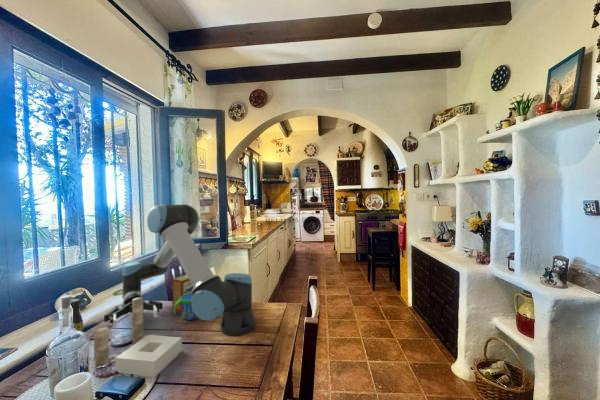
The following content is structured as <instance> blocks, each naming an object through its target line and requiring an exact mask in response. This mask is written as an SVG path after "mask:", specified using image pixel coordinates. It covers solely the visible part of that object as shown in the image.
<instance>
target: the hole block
mask: <svg viewBox="0 0 600 400" xmlns="http://www.w3.org/2000/svg"><path fill="white" fill-rule="evenodd" d="M182 341H183V339H182V337H178V336H166V335H155V334H154V335H153V334H147V335H146V336H143V339H141V340H140V341H138V342H137V343H136V344H134V345H131V346H130V347H129V348H128V349H126V350H124V351H122V353H120V354H118V355H117V356H115V358H114V359H115V360H114V361H115V364H114V365H115V369H114V370H117V371H118V372H119V373H123V374H122V375H127V374H134V375H133V376H136V375H138V376H139V377H146V376H147V377H148V378H155V377H157V376H158V375H159V374H160V373H161V372H162V371H163V370H164V369H165V368H166V367H167V366H168V365H169V364H170V363H171V362H172V361H173V360H174V359H176V358H177V356H178V355H179V354H180V353H182V352H183V351H182V350H183V349H182V348H183V347H182V345H183V343H182Z"/></svg>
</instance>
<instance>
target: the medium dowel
mask: <svg viewBox="0 0 600 400" xmlns="http://www.w3.org/2000/svg"><path fill="white" fill-rule="evenodd" d="M109 330H110V328H109V327H108V326H107V327H106V326H104V327H100V328H99V329H96V330H95V335H96V360H95V368H96V367H99V366H103V365H105V364H107V363H108V362H109V363H110V361H109V360H110V356H109V355H110V348H109V347H110V345H109V344H110V340H109V339H110V333H109V332H110V331H109Z"/></svg>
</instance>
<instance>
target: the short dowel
mask: <svg viewBox="0 0 600 400" xmlns="http://www.w3.org/2000/svg"><path fill="white" fill-rule="evenodd" d="M93 340H94V341H93V360H95V359H96V334H94V335H93Z"/></svg>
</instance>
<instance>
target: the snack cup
mask: <svg viewBox="0 0 600 400" xmlns="http://www.w3.org/2000/svg"><path fill="white" fill-rule="evenodd" d="M192 296H193V294H192V293H188V294H185V295H182V296H181V297H180V299H179V300H178V301H177V302H176V303H175V305H174V310H173V312H174V315H175V316H177V311H176V309H175V308H176V305H177V304H178V303H179V302H180V304H181V307H182V312H181V313H182V317H183V319H184V320H185V321H186V320H187V321H192V320H196V319H199V318H198V317H197V316H196V315H195V313H194V312H193V310H192V307H191V305H192V303H191V299H192Z"/></svg>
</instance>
